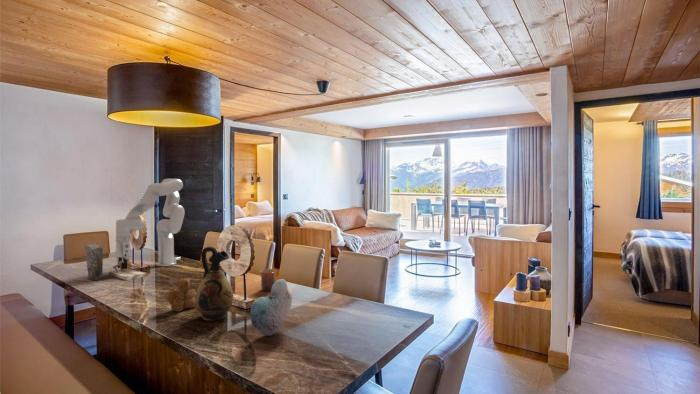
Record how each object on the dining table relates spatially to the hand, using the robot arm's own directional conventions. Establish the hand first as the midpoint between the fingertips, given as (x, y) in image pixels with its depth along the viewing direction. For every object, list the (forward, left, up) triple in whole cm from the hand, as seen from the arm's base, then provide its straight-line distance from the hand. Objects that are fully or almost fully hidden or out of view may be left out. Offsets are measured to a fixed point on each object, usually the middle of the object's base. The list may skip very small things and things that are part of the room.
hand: (122, 267), depth 226 cm
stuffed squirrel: (+16, +89, -4) cm, 91 cm away
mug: (-27, +100, -4) cm, 104 cm away
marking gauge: (-1, 0, -1) cm, 2 cm away
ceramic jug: (+15, +109, -4) cm, 110 cm away
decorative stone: (+14, +143, -4) cm, 144 cm away
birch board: (+1, +7, -4) cm, 8 cm away
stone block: (+14, -2, -4) cm, 15 cm away
